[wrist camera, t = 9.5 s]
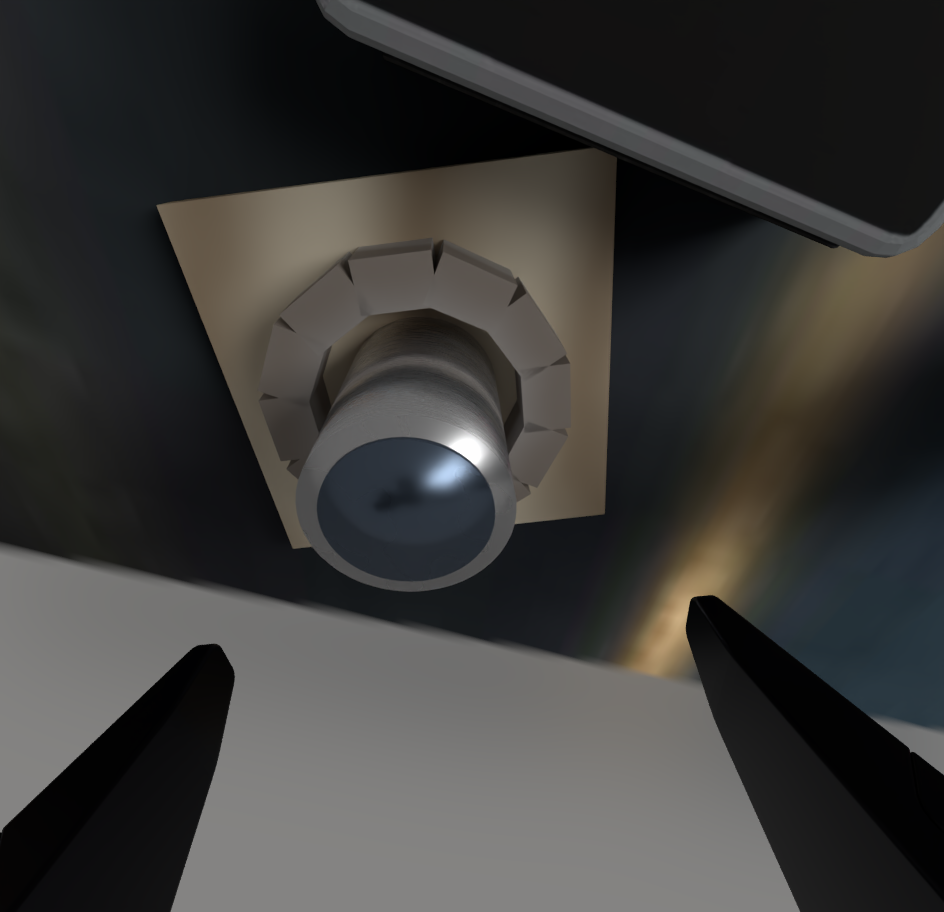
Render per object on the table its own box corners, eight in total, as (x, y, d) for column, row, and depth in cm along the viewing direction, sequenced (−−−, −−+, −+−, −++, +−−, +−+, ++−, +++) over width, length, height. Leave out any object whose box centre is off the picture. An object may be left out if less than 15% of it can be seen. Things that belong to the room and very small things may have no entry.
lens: (501, 442, 19) (524, 584, 13) (368, 457, 19) (327, 605, 13) (488, 307, 16) (508, 405, 10) (333, 326, 16) (262, 434, 10)
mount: (607, 144, 15) (640, 145, 12) (598, 499, 22) (618, 547, 19) (172, 201, 15) (116, 213, 13) (299, 533, 22) (279, 584, 20)
